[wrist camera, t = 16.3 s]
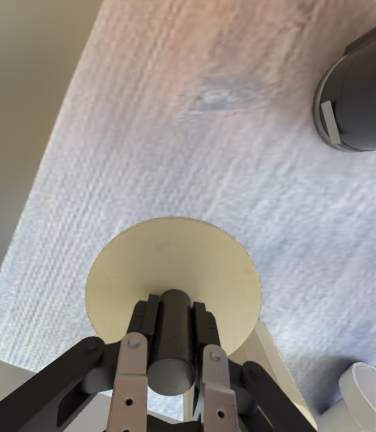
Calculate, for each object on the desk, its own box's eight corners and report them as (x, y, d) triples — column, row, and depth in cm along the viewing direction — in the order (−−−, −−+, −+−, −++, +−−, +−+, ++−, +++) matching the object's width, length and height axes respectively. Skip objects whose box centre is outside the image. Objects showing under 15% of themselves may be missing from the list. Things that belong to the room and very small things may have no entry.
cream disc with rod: (101, 197, 15) (41, 228, 9) (277, 232, 16) (342, 285, 10) (83, 347, 18) (29, 453, 12) (232, 369, 19) (258, 479, 13)
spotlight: (402, 375, 30) (454, 456, 22) (347, 417, 34) (376, 495, 27) (343, 349, 30) (376, 419, 23) (297, 393, 35) (313, 464, 28)
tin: (193, 302, 28) (200, 385, 18) (281, 316, 29) (337, 403, 18) (175, 375, 30) (173, 485, 20) (256, 386, 31) (294, 496, 21)
